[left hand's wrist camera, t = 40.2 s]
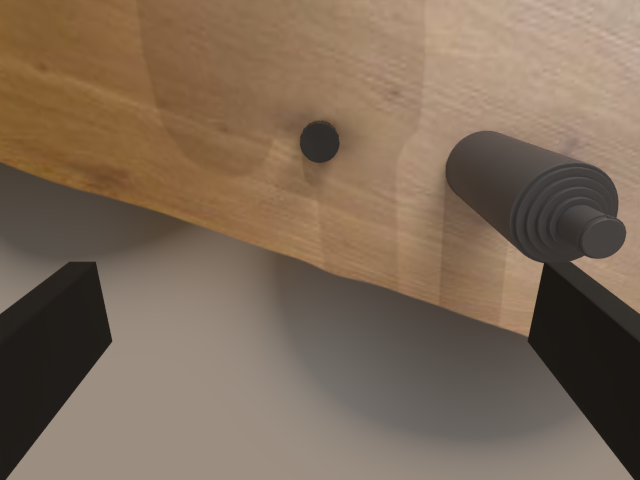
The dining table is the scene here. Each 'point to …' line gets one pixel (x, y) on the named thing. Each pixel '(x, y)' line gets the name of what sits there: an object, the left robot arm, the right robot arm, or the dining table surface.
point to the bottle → (537, 197)
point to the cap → (319, 141)
